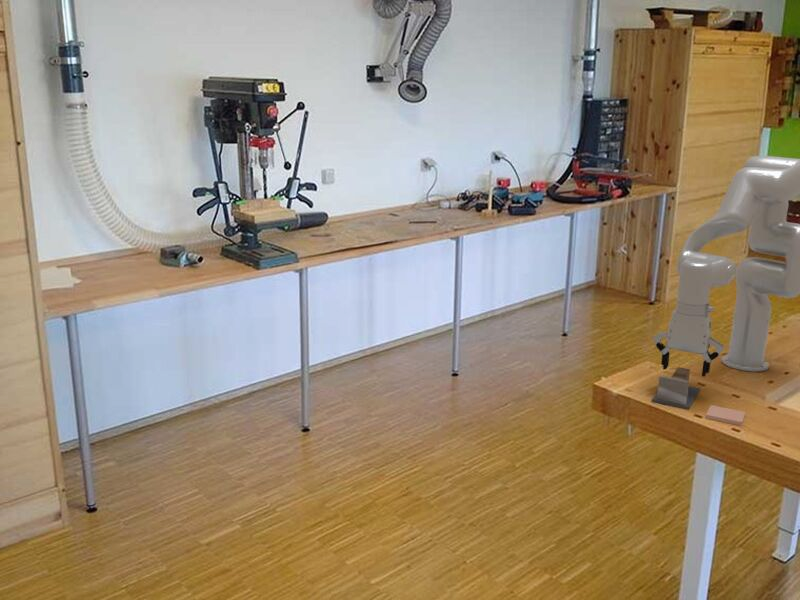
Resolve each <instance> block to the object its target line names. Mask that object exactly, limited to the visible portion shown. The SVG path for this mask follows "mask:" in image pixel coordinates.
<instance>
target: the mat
mask: <svg viewBox="0 0 800 600" xmlns="http://www.w3.org/2000/svg"><path fill="white" fill-rule="evenodd" d="M699 390H700V391H701V388H699V387H695V386H690V385H689V387H688V395H687V402H686V405H682V404H678V403H673V402H668V401H664V400H659V399H657V393H658V391H656V393H655V395H654V396H653V398H652V399H651V402H653V403H656V404H661V405H666V406H670V407H675V408H680V409H684V410H690V408H691V406H692V405H693V403H694V401H695V399H696V398H697V396H698V394H699V392H700V391H699Z"/></svg>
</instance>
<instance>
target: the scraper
mask: <svg viewBox="0 0 800 600" xmlns="http://www.w3.org/2000/svg"><path fill="white" fill-rule="evenodd" d="M690 371H691V369H690V368H685V367H679V366H677V368H676V369H675V370H674V372H673V374H671V376H664V375H659V378H658V385H657V392H658V393H657V392H656V393H657V399H659V400H664V401H668V402H673V403H678V404H682V405H686V402H687V395H688V387H689V386H690V381H689V379H690Z"/></svg>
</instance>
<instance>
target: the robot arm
mask: <svg viewBox="0 0 800 600" xmlns="http://www.w3.org/2000/svg"><path fill="white" fill-rule="evenodd" d="M730 181H731V182H730V184H729V186H728V187H727V190H726V192H725V195H724V197H723V199H722V201H721V204H720V206H719V209H718V211H717V213H716V214H715V215H714V216H713V217H711V218H710V219H708V220H706V221H705V222H703V223H702V224H700V225H699V226H698V227H697V228H695V229H694V230H693V231H692V232H691V233H690V234H689V236H688V237H687V238H686V239H685V241H684V244H683V246H682V248H681V251H680V253H679V255H678V257H677V261H676V273H677V275H678V276H679V277H678V279H679V280H678V288H677V294H676V295H677V296H676V297H677V298H676V307H675V309H674V310H673V311H672V313H671V317H670V319H669V323H668V324H669V325H668V329H667V330H666V331H662V332H659V333H656V334H654V335H653V336H652V339H653V341H654V343H655V347H656V348H657V350H658V351H660V353H661V362H660V363H661V366H662V370H667V368H668V367H669V363H670V355H671V354H670V351H671V350H672V351H673V350H674V351H678V352H685V353H690V354H697V355H701V357H702V358H703V363H702V370H701V377H703V378H704V377H706V375H707V374H709V373H710V372H711V371H710V370H711V362H712V361H714V360H715V359H716V358H718V357H719V355H720V354H721V353H722V352H723V351H724V349H725V346H724V345H723V344H721V343H720V341H717V340H716V339H715V338H713V337H712V317H711V314H710V313H713V312H714V311H715V306H712V305H710V302H709V301H710V293H711V288H714V287H715V288H716V287H717V288H718V287H724V286H726V285H728V284H730V283H731V282H732V281H733V280H734V279H735V278H736V298H735V299H736V300H735V305H734V306H735V307H734V314H733V320H732V327H731V335H730V341H729V347H728V354H724V355H722V357H721V362H722V363H723V364H724V365H725V366H727V367H729V368H732V369H735V370H739V371H744V372H753V373H754V372H758V373H759V372H765V371H767V370H768V369H769V367H770V363H769V362H768V361H767V360H765V355H766V347H767V341H768V337H769V336H768V335H769V328H770V323H771V316H772V312H773V311H772V309H773V308H772V304H771V301H770V298H769V296H768V295H771V296H776V297H779V298H785V299H786V298H787V299H793V298H796V297H798V296H799V295H800V223H795V222H789V221H787V216H788V209H789V201H790V200H792V199H794V198H795V197H797V196H798V195H800V158H794V157H782V156H773V155H754V156H751V157H748V158H747V160H746V161H745V162H744V167H742V168H740V169H738V170H737V171H736V172H735V174H734V175H733V177H732V180H730ZM749 227H750V228H749ZM747 229H749V234H748V247H749V248H750V249H751V251H753V252H757V253H760V254H765V255H771V256H777V257H782V258H784V259H785V261H781V260H776V259H769V258H764V257H758V256H751V257H746V258H744V259H742V260H741V261H740V262H739V263H738V265H737V267H736V263H735V262H734V261H733V260H732V259H731V258H728V257H726V256H721V255H716V254H711V253H705V252H702V251H701V250H702V249H703V248H704V247H705V246H706V245H707V244H708V243H710V242H712V241H713V240H716V239H720V238H723V237H727V236H729V235H731V236H732V235H734V234H737V233H742V232H744V231H746V230H747ZM735 276H736V277H735ZM663 338H664V339H665V338H666V345H665V344H663V342H662V341H661V339H663ZM710 346H712V347H714V348H715V351H713V352H712V353H711V352H710V351H709V349H710Z"/></svg>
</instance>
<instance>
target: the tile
mask: <svg viewBox="0 0 800 600" xmlns="http://www.w3.org/2000/svg"><path fill="white" fill-rule="evenodd" d="M745 416H746V412H745V411H742V410H738V409H731V408H727V407H721V406H717V405H713V404H712V405H711V404H710V405H709V408H708V410H707V412H706V414H705V419H707V420H711V421H716V422H722V423H726V424H730V425H734V426H739V427H742V424H743V422H744V419H745Z"/></svg>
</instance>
